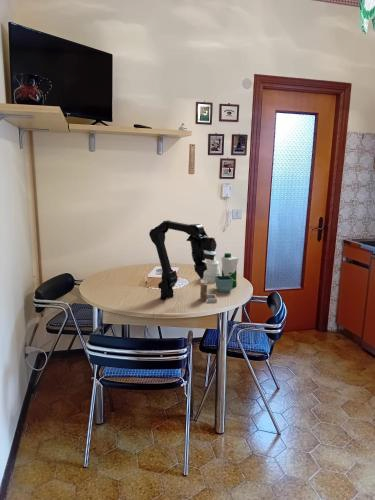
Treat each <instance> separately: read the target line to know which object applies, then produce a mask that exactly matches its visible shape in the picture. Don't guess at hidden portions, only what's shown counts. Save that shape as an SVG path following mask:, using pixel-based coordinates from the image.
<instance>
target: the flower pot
mask: <svg viewBox="0 0 375 500" xmlns="http://www.w3.org/2000/svg"><path fill="white" fill-rule="evenodd" d="M214 283H215V287H216V289H217V291H218V292H219V293H230V292H232V288H233V287H232V285H233V279H232V278H231V277H230V276H222V275H221V276H215V282H214Z"/></svg>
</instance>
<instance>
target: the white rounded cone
mask: <svg viewBox="0 0 375 500" xmlns="http://www.w3.org/2000/svg"><path fill="white" fill-rule="evenodd" d="M214 253H215V256H217V252H214ZM215 256H214V260H209V259H205V260H204V261H203V262H205V263H206V266H207V270H205V271H204V275H203V279H201V278H200V281H201V280H206V281H207V283H216V282H215V276H222V271H221V269H220V266H219V264H220V262H219V261H218V259H216V257H215Z"/></svg>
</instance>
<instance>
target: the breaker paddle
mask: <svg viewBox="0 0 375 500" xmlns="http://www.w3.org/2000/svg"><path fill="white" fill-rule="evenodd" d="M207 294H208V282H207V281H206V280H201V279H200V296H199V297H200V298H199V299H200V302H208V298H207Z"/></svg>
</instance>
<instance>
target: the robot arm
mask: <svg viewBox="0 0 375 500" xmlns="http://www.w3.org/2000/svg"><path fill="white" fill-rule="evenodd" d="M169 230H174V231H179V232H182V233H186V234H187V235H189V236H188V237H187V239H186V240H185V241H187V242H190V247H191V248H190V249H191V258H192V260H193V262H194V264H193V267H194V272H195V273H196V274H197V275H198V276H199V278H200V280H201V279H203V275H204V271H205V270H207V266H206V263H205V262H204V261H206V259H209V260H214V257H215V253H216V252H215V251H216V250H217V246H218V244H217V241H216V239H215V237H209V235H208V234H207V233H206V231H205V228H204V226H203V224H199V223H192V224H191V223H190V224H188V223H184V222H177V221H172V220H169V219H168V220H163V221H162V222H161V223H159V225H157V226H155V227H154V228H152V229H150V230H149V232H148V234H149V238H150V240H151V242H152V244H154V245H155V248H156V251H157V256H158V259H159V263H160V266H161V271H162V272H161V281H160V282H159V283H158V284H157V287H158V289H160V299H159V300H161V301H163V300H164V301H167V299H171V298H174V289H173V287H175V286H176V284H177V282H178V275H177V271H176V270H174V269H172V266H171V263H170V259H169V256H168V255H169V254H168V252H167V249H166V243H165V242H166V241H165V240H166V233H167V232H169Z"/></svg>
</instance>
